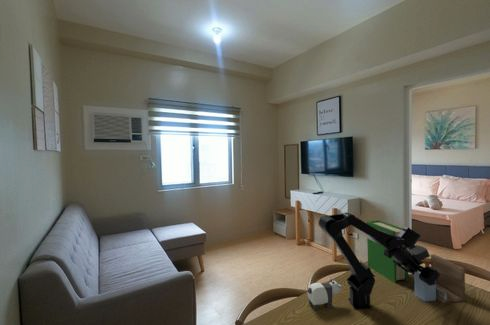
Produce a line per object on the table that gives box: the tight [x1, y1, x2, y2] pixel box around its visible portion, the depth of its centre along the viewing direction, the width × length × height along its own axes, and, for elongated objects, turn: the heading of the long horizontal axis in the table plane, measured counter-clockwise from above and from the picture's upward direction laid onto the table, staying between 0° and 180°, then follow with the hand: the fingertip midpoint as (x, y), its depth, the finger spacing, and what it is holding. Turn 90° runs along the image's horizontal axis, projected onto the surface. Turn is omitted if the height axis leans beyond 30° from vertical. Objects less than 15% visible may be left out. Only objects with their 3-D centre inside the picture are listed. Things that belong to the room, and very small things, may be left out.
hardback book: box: [366, 219, 409, 284], centre depth 121 cm, size 18×7×24 cm, turn 12°
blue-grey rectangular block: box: [413, 271, 437, 303], centre depth 100 cm, size 5×5×10 cm
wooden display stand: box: [430, 254, 466, 304], centre depth 104 cm, size 10×14×13 cm
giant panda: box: [307, 278, 343, 311], centre depth 98 cm, size 15×6×10 cm, turn 101°
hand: (427, 280), depth 101 cm, fingers open, 6 cm apart
